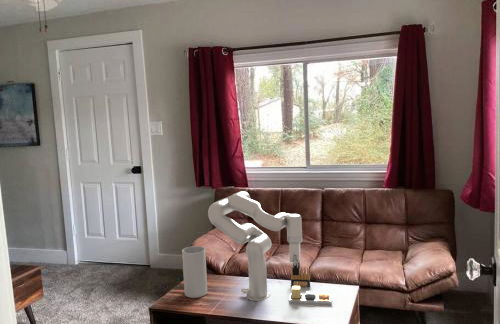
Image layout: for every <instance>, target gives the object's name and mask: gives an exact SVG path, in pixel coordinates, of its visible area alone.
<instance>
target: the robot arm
mask: <svg viewBox="0 0 500 324" xmlns="http://www.w3.org/2000/svg"><path fill="white" fill-rule="evenodd" d="M234 211H237V212H239V213H241V214H244V215H246V216H248V217H251V218H252V219H253V220H254V222H256V224H258V225H259V226H261V227H263V228H265V229H267V230H270V231H271V232H272V231H273V232H279V231H281V230H282V229H284V228H286V237H287V238H286V239H287V240H286V241H287V243H288V244H289V263H292V266H291V268H292V272H293V275H299V269H301V264H300V261H301V244H302V242H303V223H302V222H303V221H302V219H303V218H302V215H300V214H298V213H288V212H287V213H286V212H278V213H277V214H275V215H273V214H270V213H268V212H265V211H264V210H263V209H262V207H261V203H260V202H258V201H257V200H254V199H251V196H250V194H249V193H248V192H247V191H244V190H243V191H242V190H241V191H238V192H236V193H233V194H232V195H229V196H227V197H225V198H222V199H219V200H217V201H215V202H213V203H212V204H211V205H209V208H208V212H207V217H208V219H209V221H210V223H211V224H212V225H213V226H214V227H215V228H217V229H218V230H220V232H222V233H223V234H225V235H226V236H227V237H228V238H229V239H231V240H232V241H234V242H235V244H237V245H245V244H246V243H247V242H248V243H247V245H246V247H245V252H246V257H247V270H248V287H247V288H245V287H242V288H241V293H242V294H246V298H247V300H249V301H252V302H258V301H263V300H267V299H268V298H269V297H271V293H270V292H269V291H268V284H267V283H268V280H267V276H268V275H267V260H266V258H265V253H267V252H268V251H269V250H271V247H272V243H273V242H272V240H271V238H270V237H269V235H267V234H266V233H265V232H264V231H262V230H261V229H259V228H258V227H257V226H256V225H254V224H253V223H249V222H246V223H242V224H239V222H237V221H235V220H234V219H232V218H231V217H228V216H227V214H229V213H231V212H234Z"/></svg>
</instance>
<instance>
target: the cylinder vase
mask: <svg viewBox="0 0 500 324" xmlns="http://www.w3.org/2000/svg"><path fill="white" fill-rule="evenodd" d="M181 255H182V256H181V257H182V273H183V289H184V290H183V291H184V295H185V296H186V297H187V298H191V299H198V298H202V297H204V296H206V295H207V293H208V278H207V275H208V274H207V261H206V259H207V258H206V247H204V246H200V245H193V246H187V247H184V248H183V249H182V250H181Z"/></svg>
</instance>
